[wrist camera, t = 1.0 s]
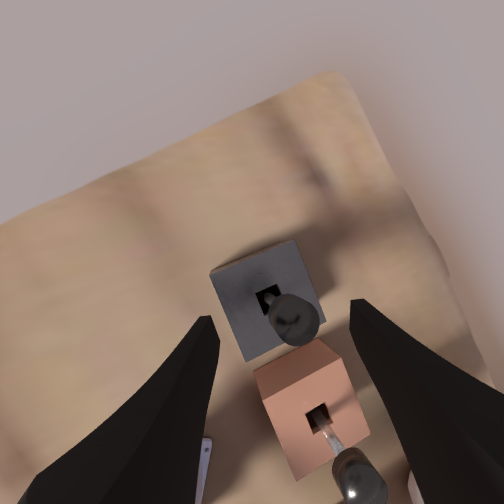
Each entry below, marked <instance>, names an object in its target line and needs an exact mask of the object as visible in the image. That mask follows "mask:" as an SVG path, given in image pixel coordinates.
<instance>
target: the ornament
mask: <svg viewBox="0 0 504 504" xmlns="http://www.w3.org/2000/svg"><path fill="white" fill-rule="evenodd" d="M408 489H409V493H410V496H411V500H412V504H424V502H423V499H422V496H421V494H420V491H419V489H418V486H417V483H416V481H415V478H414V475H413V473H412V470H410V473H409V479H408Z"/></svg>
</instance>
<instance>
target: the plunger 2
mask: <svg viewBox="0 0 504 504" xmlns="http://www.w3.org/2000/svg"><path fill="white" fill-rule="evenodd" d="M311 415H312V417H313V418H314V420H315V422H316V423H317V425H318V427H319V428H320V430H321V432H322V434H323V435H324V437H325V439H326V440H327V442H328V444H329V445H330V447H331V449H332V451H333V452H334V454H335V456H336V458H335V460H334V462H333V466H332V475H333V478H334V480H335V482H336V484H337V486H338V488H339V490H340V492H341V494H342V495H343V497H344V499H345V501H346V503H347V504H386V501H387V497H388V489H387V486H386V483H385V482H384V480H383V479H382V477H381V476H380V475H379V473H378V472H377V471H376V469H375V468H374V467H373V465H372V464H371V462H370V461H369V460H368V458H367V457H366V456H365V454H364V453H363V452H362V451H361V450H360V449H358V448H353V447H351V448H347V449H345V447H344V446H343V444H342V443H341V441H340V440H339V438H338V437H337V435H336V434H335V432H334V431H333V429H332V428H331V426H330V425H329V423H328V422H327V420H326V419H325V417H324V415H323V414H322V412H321V411H320V409H319V408H317V407H315V408H314V409H312V411H311Z"/></svg>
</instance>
